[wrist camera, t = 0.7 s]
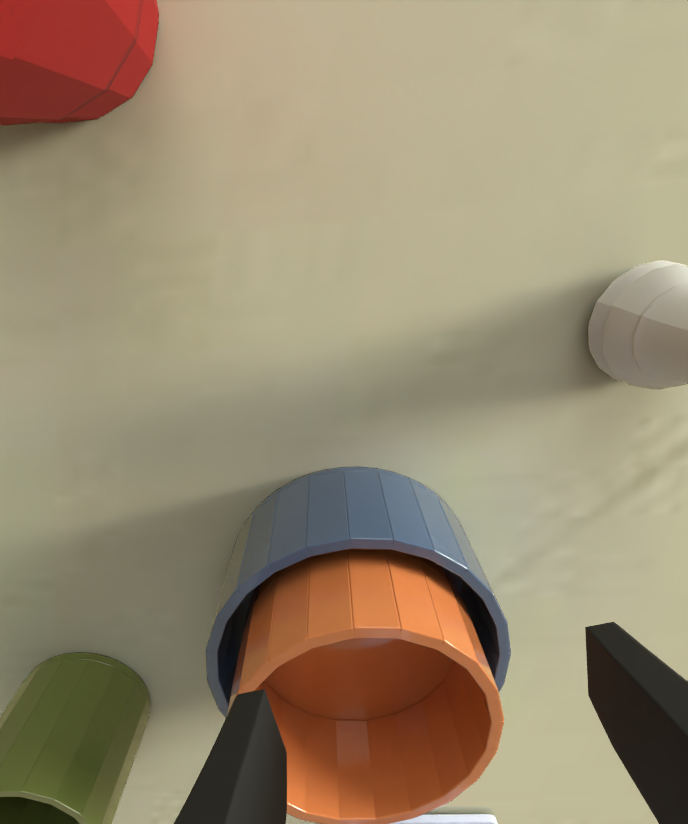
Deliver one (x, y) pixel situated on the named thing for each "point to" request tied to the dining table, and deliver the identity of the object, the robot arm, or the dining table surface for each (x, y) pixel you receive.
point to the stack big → (348, 529)
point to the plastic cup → (72, 57)
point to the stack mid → (370, 685)
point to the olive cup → (70, 741)
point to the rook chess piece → (643, 326)
